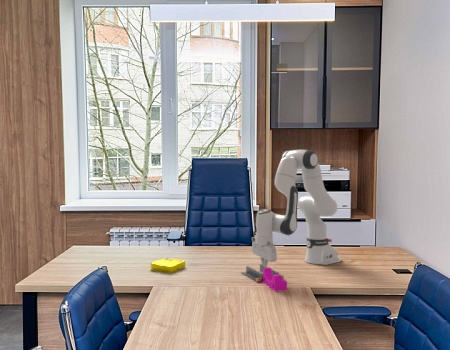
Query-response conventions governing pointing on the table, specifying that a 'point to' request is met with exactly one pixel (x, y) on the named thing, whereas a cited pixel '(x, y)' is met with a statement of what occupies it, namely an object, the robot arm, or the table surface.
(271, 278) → the toy block
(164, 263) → the yellow flat square slab
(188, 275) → the table surface
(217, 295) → the table surface
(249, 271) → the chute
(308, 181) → the robot arm
